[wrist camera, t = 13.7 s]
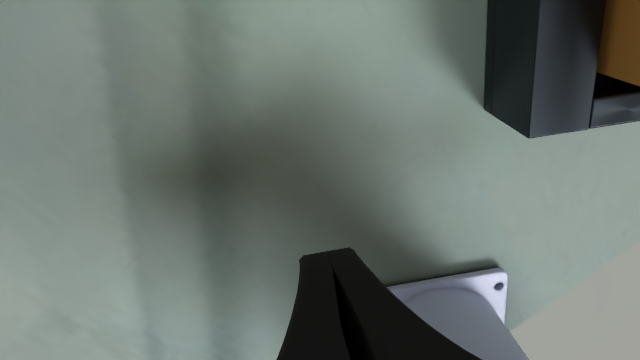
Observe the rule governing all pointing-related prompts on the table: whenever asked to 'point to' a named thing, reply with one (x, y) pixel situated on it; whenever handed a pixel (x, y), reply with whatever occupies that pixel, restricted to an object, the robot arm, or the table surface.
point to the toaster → (552, 68)
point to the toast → (621, 41)
